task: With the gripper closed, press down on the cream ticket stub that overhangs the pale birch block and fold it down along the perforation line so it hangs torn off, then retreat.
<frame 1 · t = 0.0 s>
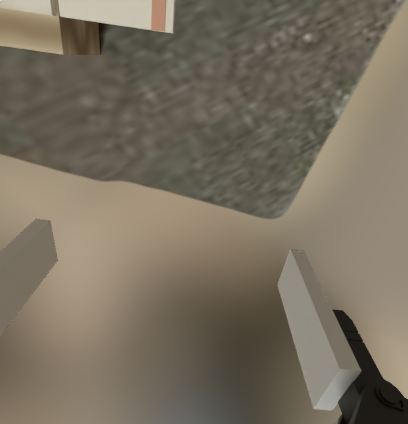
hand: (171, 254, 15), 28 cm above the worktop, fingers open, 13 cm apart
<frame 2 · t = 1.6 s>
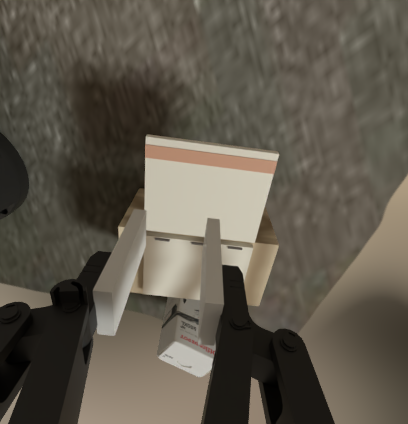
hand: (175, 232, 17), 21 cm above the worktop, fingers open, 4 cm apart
ticket block: (198, 224, 41), on the worktop
stub: (205, 193, 27), point 10 cm above the worktop, hinge at 0.0°
ink box: (193, 297, 49), on the worktop
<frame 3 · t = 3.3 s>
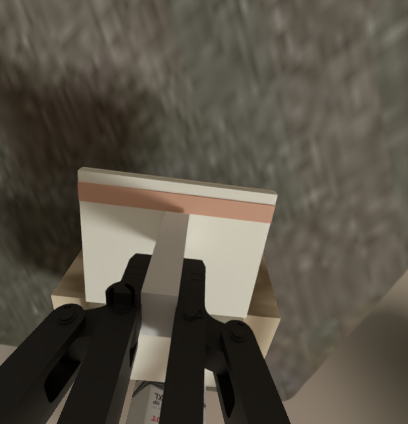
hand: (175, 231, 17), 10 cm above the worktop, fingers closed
ticket block: (176, 268, 32), on the worktop
stub: (173, 250, 18), point 10 cm above the worktop, hinge at -6.0°, touching gripper
ink box: (175, 348, 40), on the worktop
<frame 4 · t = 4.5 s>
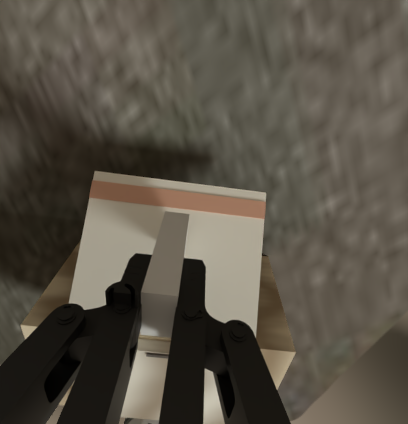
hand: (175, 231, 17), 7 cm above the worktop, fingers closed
ticket block: (173, 283, 29), on the worktop
stub: (172, 254, 18), point 7 cm above the worktop, hinge at -40.8°, touching gripper
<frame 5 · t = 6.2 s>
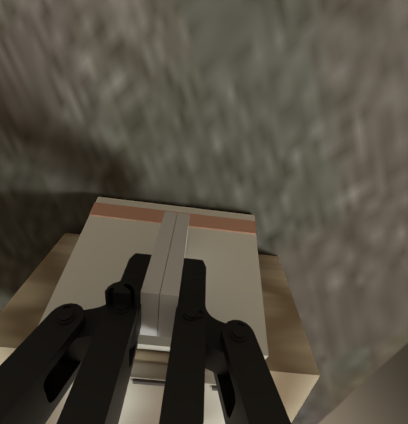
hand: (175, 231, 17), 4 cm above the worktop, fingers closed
ticket block: (170, 287, 25), on the worktop
stub: (167, 264, 17), point 5 cm above the worktop, hinge at -72.8°, touching gripper
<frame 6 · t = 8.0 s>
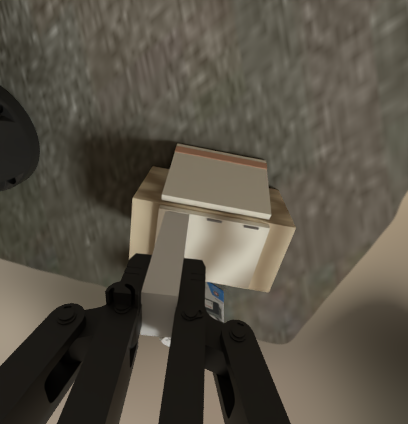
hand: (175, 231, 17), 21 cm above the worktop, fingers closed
ticket block: (209, 208, 40), on the worktop
stub: (219, 177, 33), point 5 cm above the worktop, hinge at -73.0°
ink box: (197, 285, 48), on the worktop
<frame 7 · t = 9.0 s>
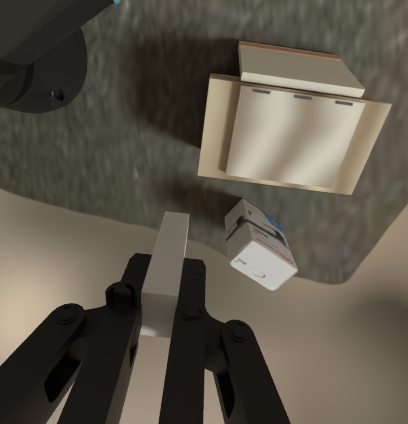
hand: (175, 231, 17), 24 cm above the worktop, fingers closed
ticket block: (269, 122, 37), on the worktop
stub: (294, 65, 29), point 5 cm above the worktop, hinge at -73.0°
ink box: (251, 220, 45), on the worktop
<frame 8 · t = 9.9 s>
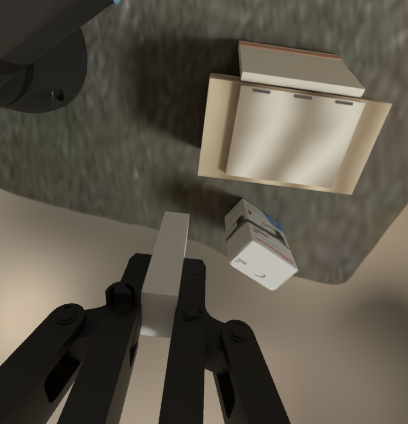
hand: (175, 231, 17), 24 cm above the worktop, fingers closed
ticket block: (269, 122, 37), on the worktop
stub: (294, 65, 29), point 5 cm above the worktop, hinge at -73.0°
ink box: (252, 219, 45), on the worktop
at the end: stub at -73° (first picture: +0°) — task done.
